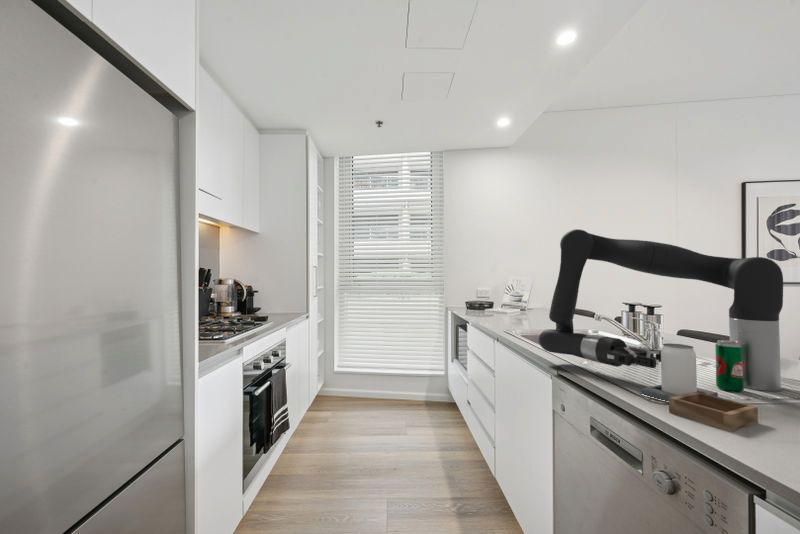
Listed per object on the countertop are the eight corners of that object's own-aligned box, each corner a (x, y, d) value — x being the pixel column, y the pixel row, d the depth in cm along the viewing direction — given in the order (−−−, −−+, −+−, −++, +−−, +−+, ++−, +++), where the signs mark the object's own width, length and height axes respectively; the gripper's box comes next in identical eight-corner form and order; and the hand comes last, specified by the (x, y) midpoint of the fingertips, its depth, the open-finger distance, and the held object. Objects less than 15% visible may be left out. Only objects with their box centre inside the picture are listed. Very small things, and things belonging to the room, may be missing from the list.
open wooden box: (696, 405, 77) (696, 391, 77) (758, 422, 68) (757, 406, 68) (669, 412, 73) (668, 397, 73) (730, 431, 64) (730, 414, 64)
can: (703, 403, 78) (702, 348, 79) (670, 401, 80) (669, 347, 80) (686, 394, 85) (685, 343, 85) (656, 392, 86) (655, 342, 86)
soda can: (737, 394, 85) (736, 343, 85) (711, 388, 90) (710, 340, 90) (748, 391, 87) (747, 342, 87) (722, 385, 92) (721, 339, 92)
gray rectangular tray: (673, 388, 89) (673, 382, 89) (717, 399, 81) (717, 392, 81) (641, 395, 84) (641, 388, 84) (684, 408, 75) (684, 400, 76)
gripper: (585, 337, 97) (647, 348, 82) (619, 334, 103) (683, 344, 88) (585, 365, 97) (648, 381, 82) (620, 360, 102) (684, 374, 88)
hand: (666, 362), depth 85 cm, fingers open, 8 cm apart
